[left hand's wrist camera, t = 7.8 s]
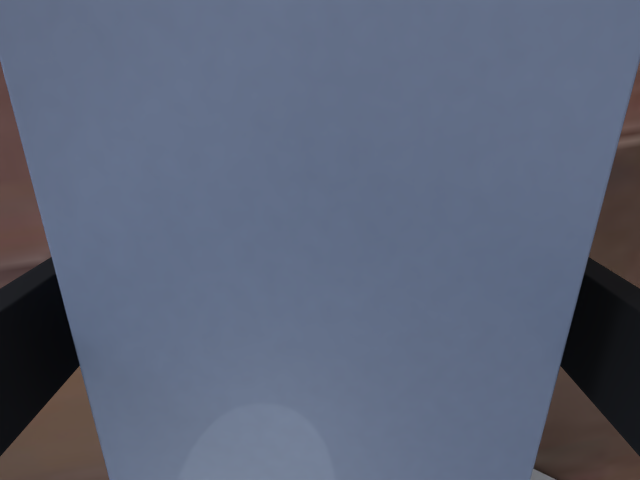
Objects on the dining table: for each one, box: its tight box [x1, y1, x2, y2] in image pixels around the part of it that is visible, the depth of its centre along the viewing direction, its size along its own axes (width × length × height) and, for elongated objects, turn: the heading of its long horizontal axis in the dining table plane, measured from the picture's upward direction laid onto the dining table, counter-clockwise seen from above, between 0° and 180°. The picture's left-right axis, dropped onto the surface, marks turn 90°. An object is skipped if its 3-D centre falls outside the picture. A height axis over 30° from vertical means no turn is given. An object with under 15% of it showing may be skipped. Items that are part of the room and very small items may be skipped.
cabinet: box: [0, 0, 640, 480], centre depth 11 cm, size 22×11×9 cm, turn 0°
